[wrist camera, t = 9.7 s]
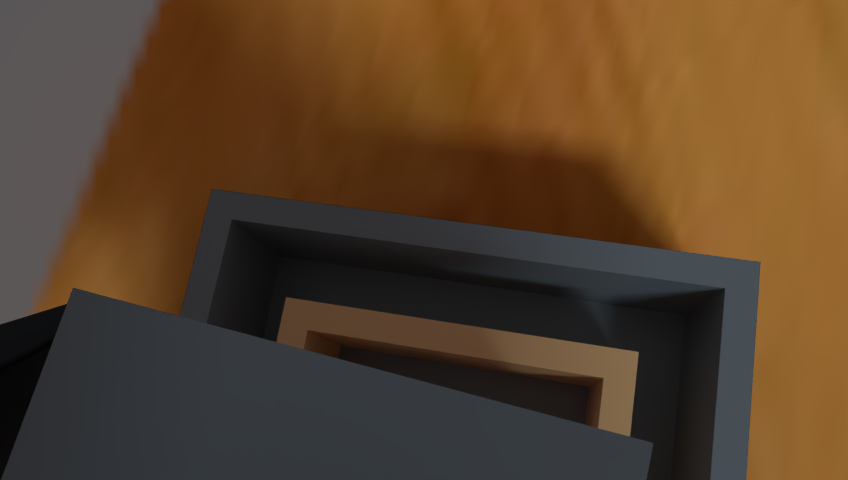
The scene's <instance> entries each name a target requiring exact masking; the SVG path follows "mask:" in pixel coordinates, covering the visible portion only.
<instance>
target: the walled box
mask: <svg viewBox="0 0 848 480" xmlns="http://www.w3.org/2000/svg"><path fill="white" fill-rule="evenodd" d="M759 277H760V262H756V261H748V260H741V259H733V258H726V257H718V256H711V255H703V254H696V253H688V252H681V251H673V250H666V249H658V248H651V247H643V246H636V245H628V244H621V243H613V242H606V241H598V240H591V239H583V238H576V237H568V236H561V235H553V234H546V233H538V232H531V231H523V230H516V229H508V228H501V227H493V226H486V225H478V224H470V223H463V222H455V221H448V220H440V219H433V218H425V217H418V216H410V215H403V214H395V213H388V212H380V211H373V210H365V209H358V208H350V207H343V206H335V205H328V204H320V203H313V202H305V201H298V200H290V199H283V198H275V197H268V196H260V195H253V194H245V193H238V192H230V191H223V190H215V189H212V190H211V194H210V198H209V202H208V206H207V210H206V214H205V218H204V222H203V226H202V230H201V234H200V238H199V242H198V246H197V250H196V254H195V258H194V262H193V266H192V270H191V274H190V278H189V282H188V286H187V290H186V294H185V298H184V302H183V306H182V310H181V314H180V317H184V318H188V319H192V320H195V321H199V322H203V323H207V324H210V325H214V326H218V327H222V328H225V329H229V330H233V331H237V332H240V333H244V334H248V335H251V336H255V337H259V338H263V339H266V340H270V341H274V342H278V343H281V344H285V345H289V346H293V347H296V348H300V349H304V350H308V351H311V352H315V353H319V354H323V355H326V356H330V357H334V358H338V359H341V360H345V361H349V362H352V363H356V364H360V365H364V366H367V367H371V368H375V369H379V370H382V371H386V372H390V373H394V374H397V375H401V376H405V377H409V378H412V379H416V380H420V381H424V382H427V383H431V384H435V385H439V386H442V387H446V388H450V389H453V390H457V391H461V392H465V393H468V394H472V395H476V396H480V397H483V398H487V399H491V400H495V401H498V402H502V403H506V404H510V405H513V406H517V407H521V408H525V409H528V410H532V411H536V412H540V413H543V414H547V415H551V416H554V417H558V418H562V419H566V420H569V421H573V422H577V423H581V424H584V425H588V426H592V427H596V428H599V429H603V430H607V431H611V432H614V433H618V434H622V435H626V436H629V437H633V438H637V439H641V440H644V441H648V442H652V443H653V448H652V453H651V459H650V464H649V469H648V474H647V480H746V471H747V456H748V441H749V426H750V411H751V396H752V381H753V366H754V352H755V337H756V322H757V307H758V292H759Z"/></svg>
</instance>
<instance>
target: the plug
mask: <svg viewBox="0 0 848 480" xmlns="http://www.w3.org/2000/svg"><path fill="white" fill-rule="evenodd" d="M652 448H653V443H652V442H648V441H644V440H641V439H637V438H633V437H629V436H626V435H622V434H618V433H614V432H611V431H607V430H603V429H599V428H596V427H592V426H588V425H584V424H581V423H577V422H573V421H569V420H566V419H562V418H558V417H554V416H551V415H547V414H543V413H540V412H536V411H532V410H528V409H525V408H521V407H517V406H513V405H510V404H506V403H502V402H498V401H495V400H491V399H487V398H483V397H480V396H476V395H472V394H468V393H465V392H461V391H457V390H453V389H450V388H446V387H442V386H439V385H435V384H431V383H427V382H424V381H420V380H416V379H412V378H409V377H405V376H401V375H397V374H394V373H390V372H386V371H382V370H379V369H375V368H371V367H367V366H364V365H360V364H356V363H352V362H349V361H345V360H341V359H338V358H334V357H330V356H326V355H323V354H319V353H315V352H311V351H308V350H304V349H300V348H296V347H293V346H289V345H285V344H281V343H278V342H274V341H270V340H266V339H263V338H259V337H255V336H251V335H248V334H244V333H240V332H237V331H233V330H229V329H225V328H222V327H218V326H214V325H210V324H207V323H203V322H199V321H195V320H192V319H188V318H184V317H180V316H177V315H173V314H169V313H165V312H162V311H158V310H154V309H150V308H147V307H143V306H139V305H136V304H132V303H128V302H124V301H121V300H117V299H113V298H109V297H106V296H102V295H98V294H94V293H91V292H87V291H83V290H79V289H76V288H73V290H72V292H71V295H70V298H69V300H68V303H67V306H66V308H65V311H64V314H63V316H62V319H61V322H60V324H59V327H58V330H57V332H56V335H55V338H54V340H53V343H52V346H51V348H50V351H49V353H48V356H47V359H46V361H45V364H44V367H43V369H42V372H41V375H40V377H39V380H38V383H37V385H36V388H35V391H34V393H33V396H32V399H31V401H30V404H29V407H28V409H27V412H26V415H25V417H24V420H23V423H22V425H21V428H20V431H19V433H18V436H17V439H16V441H15V444H14V447H13V449H12V452H11V455H10V457H9V460H8V463H7V465H6V468H5V471H4V473H3V476H2V479H1V480H647V474H648V469H649V464H650V459H651V453H652Z"/></svg>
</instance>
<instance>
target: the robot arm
mask: <svg viewBox="0 0 848 480" xmlns="http://www.w3.org/2000/svg"><path fill="white" fill-rule="evenodd" d="M66 306H67V304H65V305H62V306H59V307H56V308H52V309H49V310H46V311H43V312H39V313H36V314H33V315H30V316H27V317H23V318H20V319H17V320H14V321H11V322H7V323H4V324H1V325H0V480H1V479H2V476H3V473H4V471H5V468H6V465H7V463H8V460H9V457H10V455H11V452H12V449H13V447H14V444H15V441H16V439H17V436H18V433H19V431H20V428H21V425H22V423H23V420H24V417H25V415H26V412H27V409H28V407H29V404H30V401H31V399H32V396H33V393H34V391H35V388H36V385H37V383H38V380H39V377H40V375H41V372H42V369H43V367H44V364H45V361H46V359H47V356H48V353H49V351H50V348H51V346H52V343H53V340H54V338H55V335H56V332H57V330H58V327H59V324H60V322H61V319H62V316H63V314H64V311H65V308H66Z"/></svg>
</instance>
